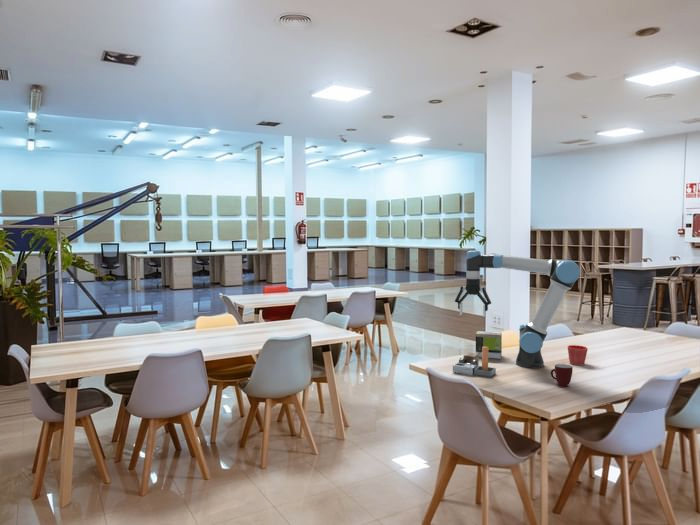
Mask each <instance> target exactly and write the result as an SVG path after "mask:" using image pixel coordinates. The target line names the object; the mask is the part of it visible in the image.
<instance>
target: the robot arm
mask: <svg viewBox="0 0 700 525" xmlns="http://www.w3.org/2000/svg"><path fill="white" fill-rule="evenodd" d="M465 264H466V270H465V272H466V275H465V276H466V277H465V278H466V279H465V280H466V281H465V282H466V283H465V284H466V286H464V285H461V286H460V290H459V291H458V294H457V295H456V298H455V299H454V302H455V303H457V304H458V305H457V309H458V310H459V316H462V315H463V301H464V300H465V299H466V298H467V296H469V295H470V296H471V295H473V296H477V297H478V298H479V299H480V301H481V302H482V303H483V306H482V307H483V309H482V310H483V311H482V315H483V318H485V317H487V311H488V310H489V305H491V304H492V301H491V299H490V297H489V295H488V292H487V289H486V287H485V286H484V287H481V279H480V278H481V269H484V268H485V269H507V270H515V271H522V272H528V273H537V274H545V275H547V276H548V277H550V279H549V280H550V285H549V286H548V289H547V291H546V293H545V295H544V297H543V299H542V301H541V302H540V304H539V306H538V308H537V310H536V312H535V314H534V316H533V318H532V320H531V322H528V323H526V324H520V325H519V340H518V343H519V345H518V346H519V347H518V348H519V349H518V353H517V356H516V359H515V365H517V366H519V367H524V368H531V369H532V368H533V369H534V368H537V369H538V368H542V367H544V366H545V361H544V359H543V358H544V357H543V354H542V347H543V345H544V341H545V339H546V337H547V335H548V331H547V329H548V327H549V326H550V323H551V322H552V320H553V317H554V316H555V313H556V312H557V310H558V308H559V307H560V305H561V303H562V301H563V299H564V296H565V295H566V293H567V291H569V290H571V289H572V288H573V286H574V285H575V283H576V281H577V280H578V279H579V278H580V275H581V269H580V266H579V265H578V263H576V262H575V261H573V260H571V259H554V258H553V259H552V258H551V259H549V260H547V259H545V260H544V259H538V258H537V259H536V258H529V257H523V256H513V255H504V254H499V253H493V252H492V253H489V254H481V251H480V250H468V251H467V252H466V262H465ZM464 291H466V292H465V293H464ZM480 291H481V292H482V293H481V292H480ZM463 293H464V294H463ZM482 294H483V295H482ZM461 296H462V297H461Z"/></svg>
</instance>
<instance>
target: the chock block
mask: <svg viewBox="0 0 700 525" xmlns="http://www.w3.org/2000/svg"><path fill="white" fill-rule="evenodd" d="M463 358H465V359H466V363H469V364H471V362H472V360H478V361H479V357H478V354H476V352H475V353H474V352H467V353H464V355H463Z"/></svg>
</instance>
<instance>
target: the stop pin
mask: <svg viewBox="0 0 700 525" xmlns="http://www.w3.org/2000/svg"><path fill="white" fill-rule="evenodd" d="M481 366H482V370H483V371H488V367H489V358H488V347H482V357H481Z"/></svg>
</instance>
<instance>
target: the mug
mask: <svg viewBox="0 0 700 525" xmlns="http://www.w3.org/2000/svg"><path fill="white" fill-rule="evenodd" d="M554 373H555V376H554ZM572 376H573V366H572V364H571V365H570V364H564V363H558V364H555V365H554V368H553V369H552V370H551V371H550V377H551V378H552V379H553V380H556V383H557V385H558V387H561V388H567V387H569V385H570V383H571V381H572Z"/></svg>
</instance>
